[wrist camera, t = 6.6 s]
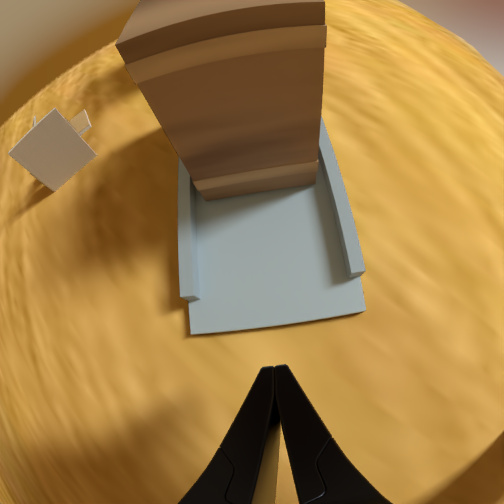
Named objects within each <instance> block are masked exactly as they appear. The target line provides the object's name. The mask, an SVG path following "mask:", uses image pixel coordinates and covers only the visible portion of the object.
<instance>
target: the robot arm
mask: <svg viewBox="0 0 504 504" xmlns="http://www.w3.org/2000/svg"><path fill="white" fill-rule="evenodd" d="M281 426H282V431H283V435H284V440H285V444H286V448H287V453H288V457H289V462H290V466H291V470H292V475H293V479H294V483H295V488H296V492H297V496H298V501H299V504H393V503H391V502H390V501H389V500H387V499H386V498H385V497H384V496H383V495H381V494H380V493H379V492H378V491H377V490H376V489H375V488H374V487H373V486H372V485H371V484H370V483H369V481H368V480H367V479H366V478H365V477H364V476H363V475H362V474H361V473H360V472H359V471H358V470H357V469H356V468H355V466H354V465H353V464H352V463H351V462H350V461H349V459H348V458H347V457H346V456H345V454H344V453H343V451H342V450H341V449H340V447H339V446H338V444H337V443H336V441H335V440H334V438H332V435H331V434H330V432H329V431H328V429H327V427H326V426H325V424H324V423H323V421H322V420H321V418H320V417H319V415H318V413H317V412H316V410H315V409H314V407H313V405H312V404H311V402H310V401H309V399H308V398H307V396H306V394H305V393H304V391H303V390H302V388H301V386H300V385H299V383H298V381H297V380H296V378H295V377H294V375H293V373H292V372H291V370H290V369H289V367H288V365H286V364H284V365H276V366H275V368H274V366H267V367H262V368H261V369H260V371H259V373H258V375H257V377H256V379H255V381H254V383H253V385H252V387H251V389H250V391H249V393H248V395H247V397H246V399H245V400H244V402H243V404H242V406H241V408H240V410H239V412H238V414H237V416H236V417H235V419H234V421H233V423H232V425H231V427H230V428H229V430H228V432H227V434H226V436H225V437H224V439H223V441H222V443H221V445H220V448H218V450H217V451H216V453H215V455H214V457H213V458H212V460H211V461H210V463H209V465H208V466H207V468H206V469H205V470H204V472H203V473H202V475H201V476H200V477H199V478H198V480H197V481H196V482H195V484H194V485H193V486H192V487H191V488H190V490H189V491H188V492H187V493H186V494H185V496H184V497H183V498H182V499H181V500H180V501H179V503H178V504H275V495H276V484H277V472H278V460H279V446H280V432H281Z"/></svg>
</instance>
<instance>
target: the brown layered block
mask: <svg viewBox="0 0 504 504" xmlns="http://www.w3.org/2000/svg"><path fill="white" fill-rule="evenodd" d="M326 34H327V25H326V24H325V1H324V0H140V2H139V4H138V5H137V7H136V9H135V10H134V12H133V14H132V15H131V17H130V18H129V20H128V22H127V24H126V26H125V27H124V29H123V31H122V33H121V35H120V37H119V38H118V40H117V42H116V44H115V46H116V47H117V49H118V51H119V53H120V55H121V56H122V58H123V60H124V62H125V67H126V69H127V71H128V73H129V74H130V76H131V78H132V80H133V81H134V83H135V84H137V85H138V86H139V88H140V90H141V92H142V93H143V95H144V97H145V99H146V100H147V102H148V104H149V106H150V107H151V109H152V111H153V113H154V114H155V116H156V118H157V120H158V121H159V123H160V125H161V126H162V128H163V130H164V132H165V133H166V135H167V137H168V139H169V140H170V142H171V144H172V145H173V147H174V149H175V151H176V152H177V154H178V156H179V157H180V159H181V161H182V162H183V164H184V166H185V168H186V169H187V171H188V173H189V174H190V176H191V178H192V179H193V183H194V185H195V187H196V188H197V190H198V191H200V193H201V195H202V196H203V198H204V200H205V201H210V200H216V199H221V198H227V197H233V196H238V195H244V194H250V193H257V192H263V191H269V190H276V189H283V188H289V187H297V186H304V185H311V184H315V182H316V172H317V171H318V163H319V161H318V150H319V138H320V125H321V110H322V94H323V73H324V47H326Z"/></svg>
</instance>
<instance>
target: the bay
mask: <svg viewBox="0 0 504 504" xmlns="http://www.w3.org/2000/svg"><path fill="white" fill-rule="evenodd" d="M318 161H319V163H318V171H317V172H316V182H315V184H311V185H304V186H297V187H289V188H283V189H276V190H269V191H263V192H257V193H250V194H244V195H238V196H233V197H227V198H221V199H216V200H210V201H205V200H204V198H203V196H202V195H201V193H200V191H198V190H197V188H196V187H195V185H194V183H193V179H192V178H191V176H190V174H189V173H188V171H187V169H186V168H185V166H184V164H183V162H182V161H181V159H180V157H179V163H178V259H179V284H180V297H181V298H183V299H185V300H188V303H189V317H190V330H191V334H193V335H197V334H209V333H220V332H230V331H239V330H248V329H257V328H265V327H273V326H280V325H287V324H294V323H301V322H308V321H314V320H320V319H326V318H332V317H338V316H344V315H349V314H354V313H360V312H364V311H366V306H365V300H364V295H363V289H362V284H361V279H360V276H361V275H362V274H363V273H364V272H365V271H366V270H365V266H364V261H363V256H362V252H361V247H360V243H359V239H358V235H357V231H356V227H355V223H354V219H353V215H352V211H351V208H350V204H349V200H348V197H347V193H346V190H345V186H344V183H343V179H342V176H341V173H340V170H339V166H338V163H337V160H336V157H335V154H334V151H333V148H332V145H331V142H330V139H329V136H328V133H327V130H326V127H325V125H324V122H323V119H322V116H321V125H320V138H319V150H318Z"/></svg>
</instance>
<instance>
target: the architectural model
mask: <svg viewBox="0 0 504 504" xmlns="http://www.w3.org/2000/svg"><path fill="white" fill-rule="evenodd" d="M89 128H91V124H90V121H89V119H88V116H87V113H86V111H85V110H82V111H81V112H80V113H79V114H77V115H76V116H75V117H74V118H72V119H71V120H70V121H69V122H68V120H67V119H66V118H64V117H63V116H62V115H61V114H60V113H59V111H58V110H57V109H56V108H54V109H52V110H51V111H50V112H49V113H48V114H47V115H46V116H45V117H43V118H42V119H41V120H40V121H39V122H38V123H37V124H36V116H35V117H34V120H33V128H32V129H31V130H30V131H29V132H28V133H27V134H25V135H24V136H23V138H22V139H21V140H20V141H19V142H18V143H17V144H16V145H15V146H14V147H13V148H12V149H11V150H10V151H9V152H8V154H9V155H10V156H11V157H12V158H13V159H15V160H16V161H17V162H18V163H19V164H21V165H22V166H23V167H24V168H25V169H27V170H28V171H29V172H30V174H31V175H32V176H34V177H35V178H36V179H37V180H39V181H40V182H41V183H42V184H44V185H45V186H46V187H48V188H49V189H50V190H51V191H53V192H56V191H57V190H58V189H59V188H60V187H61V186H62V185H63V184H64V183H65V182H67V181H68V180H69V179H70V178H71V177H72V176H73V175H75V174H76V173H77V172H78V171H79V170H80V169H82V168H83V167H84V166H85V165H86V164H88V163H89V162H90V161H91V160H92V159H94V158H95V157H96V156H97V154H96V153H95V152H94V151H93V150H92V148H91V147H90V146H89V145H88V144H87V143H86V142H85V141H84V140H83V139H82V137H81V135H82V134H83V133H84V132H86V131H87V130H88V129H89Z"/></svg>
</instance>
